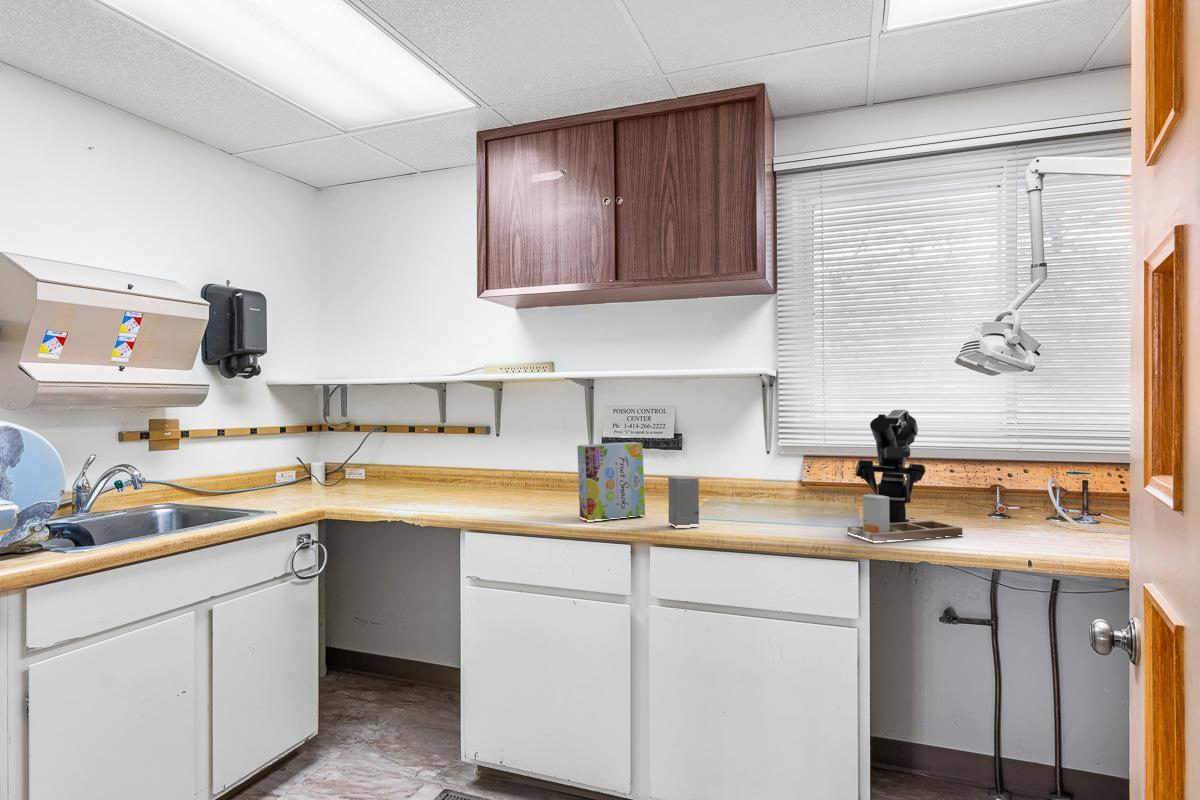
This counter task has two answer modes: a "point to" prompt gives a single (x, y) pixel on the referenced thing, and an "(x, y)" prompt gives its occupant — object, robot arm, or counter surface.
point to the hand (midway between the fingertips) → (892, 494)
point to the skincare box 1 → (683, 500)
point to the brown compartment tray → (909, 531)
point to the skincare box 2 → (876, 513)
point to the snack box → (611, 480)
